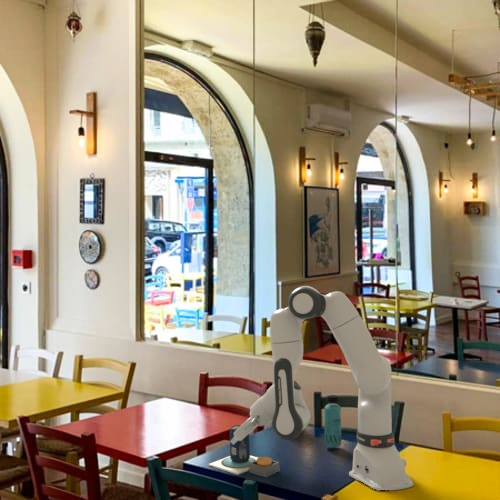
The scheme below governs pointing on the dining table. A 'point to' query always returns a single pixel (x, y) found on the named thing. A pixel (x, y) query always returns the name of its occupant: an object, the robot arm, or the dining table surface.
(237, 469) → the picture board
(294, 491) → the dining table surface
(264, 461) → the button
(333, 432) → the beverage bottle
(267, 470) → the button frame
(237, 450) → the soda can
